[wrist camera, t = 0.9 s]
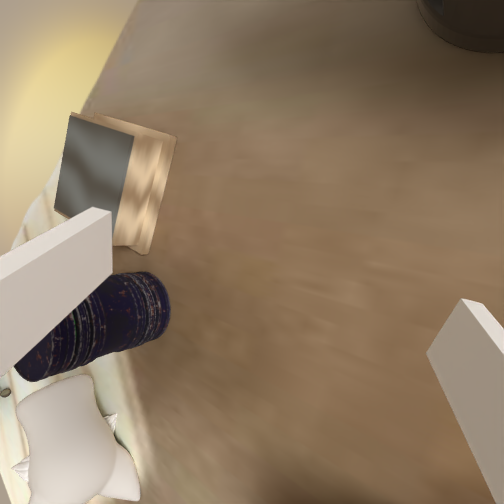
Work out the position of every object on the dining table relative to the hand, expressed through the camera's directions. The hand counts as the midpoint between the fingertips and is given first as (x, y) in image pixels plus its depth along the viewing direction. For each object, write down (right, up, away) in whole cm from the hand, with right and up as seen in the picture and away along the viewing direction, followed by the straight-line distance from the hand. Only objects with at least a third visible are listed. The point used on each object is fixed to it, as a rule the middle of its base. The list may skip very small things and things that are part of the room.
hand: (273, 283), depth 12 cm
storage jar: (-16, -6, +32) cm, 37 cm away
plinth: (-19, +11, +33) cm, 40 cm away
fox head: (-25, -29, +39) cm, 54 cm away
